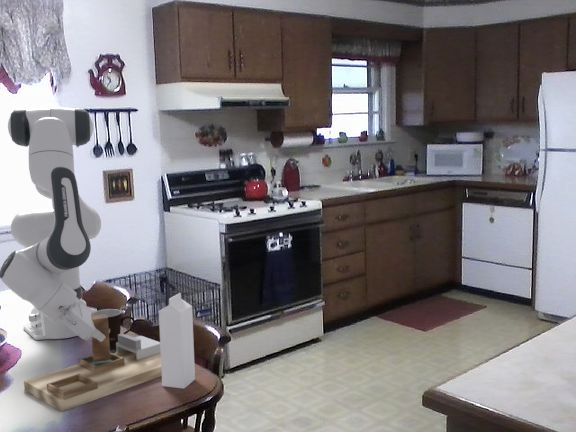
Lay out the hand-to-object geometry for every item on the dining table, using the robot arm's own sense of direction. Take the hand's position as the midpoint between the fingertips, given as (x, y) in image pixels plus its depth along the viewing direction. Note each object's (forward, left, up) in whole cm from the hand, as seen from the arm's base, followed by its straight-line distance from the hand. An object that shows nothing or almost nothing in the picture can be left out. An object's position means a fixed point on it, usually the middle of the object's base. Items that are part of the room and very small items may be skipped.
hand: (102, 335), depth 160 cm
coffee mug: (-16, +12, -10) cm, 23 cm away
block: (0, -1, -6) cm, 6 cm away
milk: (+20, +8, -10) cm, 24 cm away
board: (+4, -2, -10) cm, 11 cm away
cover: (0, +11, -7) cm, 13 cm away
